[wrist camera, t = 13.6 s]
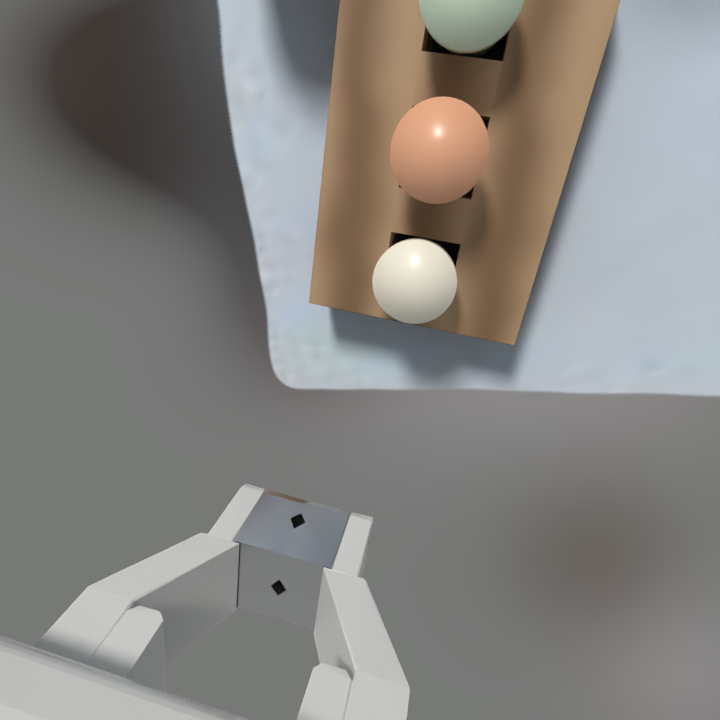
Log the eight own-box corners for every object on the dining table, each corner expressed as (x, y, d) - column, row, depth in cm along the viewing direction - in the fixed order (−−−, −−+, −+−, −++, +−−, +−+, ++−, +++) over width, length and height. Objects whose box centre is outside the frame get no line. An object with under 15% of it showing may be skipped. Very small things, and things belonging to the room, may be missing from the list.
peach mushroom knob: (493, 116, 32) (501, 104, 25) (473, 201, 34) (475, 211, 27) (413, 105, 32) (399, 89, 26) (399, 189, 35) (382, 195, 28)
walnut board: (614, -34, 29) (641, -69, 24) (508, 324, 39) (514, 345, 34) (366, -58, 31) (349, -95, 27) (326, 287, 41) (309, 302, 37)
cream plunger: (466, 232, 36) (466, 249, 29) (450, 301, 38) (446, 331, 32) (395, 220, 37) (379, 233, 30) (384, 288, 39) (366, 314, 32)
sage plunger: (526, -24, 29) (543, -79, 23) (502, 78, 32) (511, 55, 25) (438, -33, 30) (430, -89, 23) (421, 67, 32) (409, 43, 26)
